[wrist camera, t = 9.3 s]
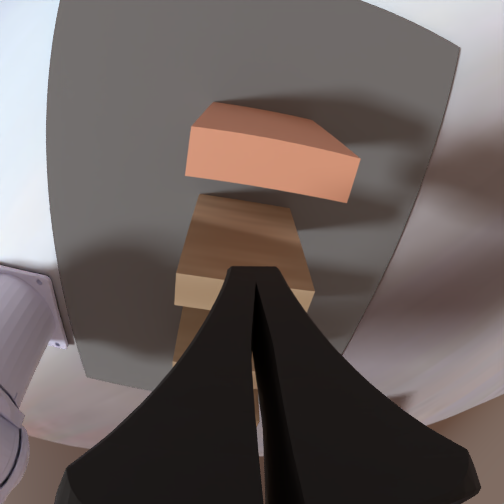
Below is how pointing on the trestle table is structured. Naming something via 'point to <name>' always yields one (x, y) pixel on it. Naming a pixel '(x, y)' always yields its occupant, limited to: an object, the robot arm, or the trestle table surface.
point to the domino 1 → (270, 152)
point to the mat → (188, 188)
